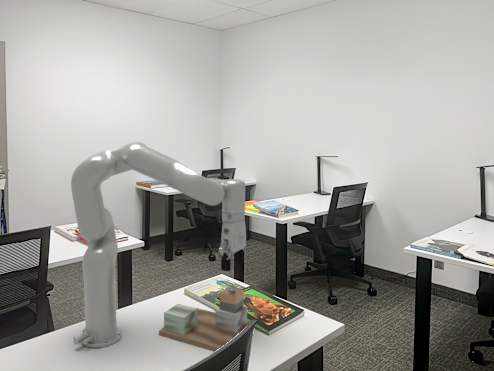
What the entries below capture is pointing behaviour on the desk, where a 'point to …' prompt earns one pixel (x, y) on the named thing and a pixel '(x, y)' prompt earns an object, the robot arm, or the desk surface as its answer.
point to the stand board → (203, 326)
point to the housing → (231, 299)
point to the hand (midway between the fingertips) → (232, 266)
